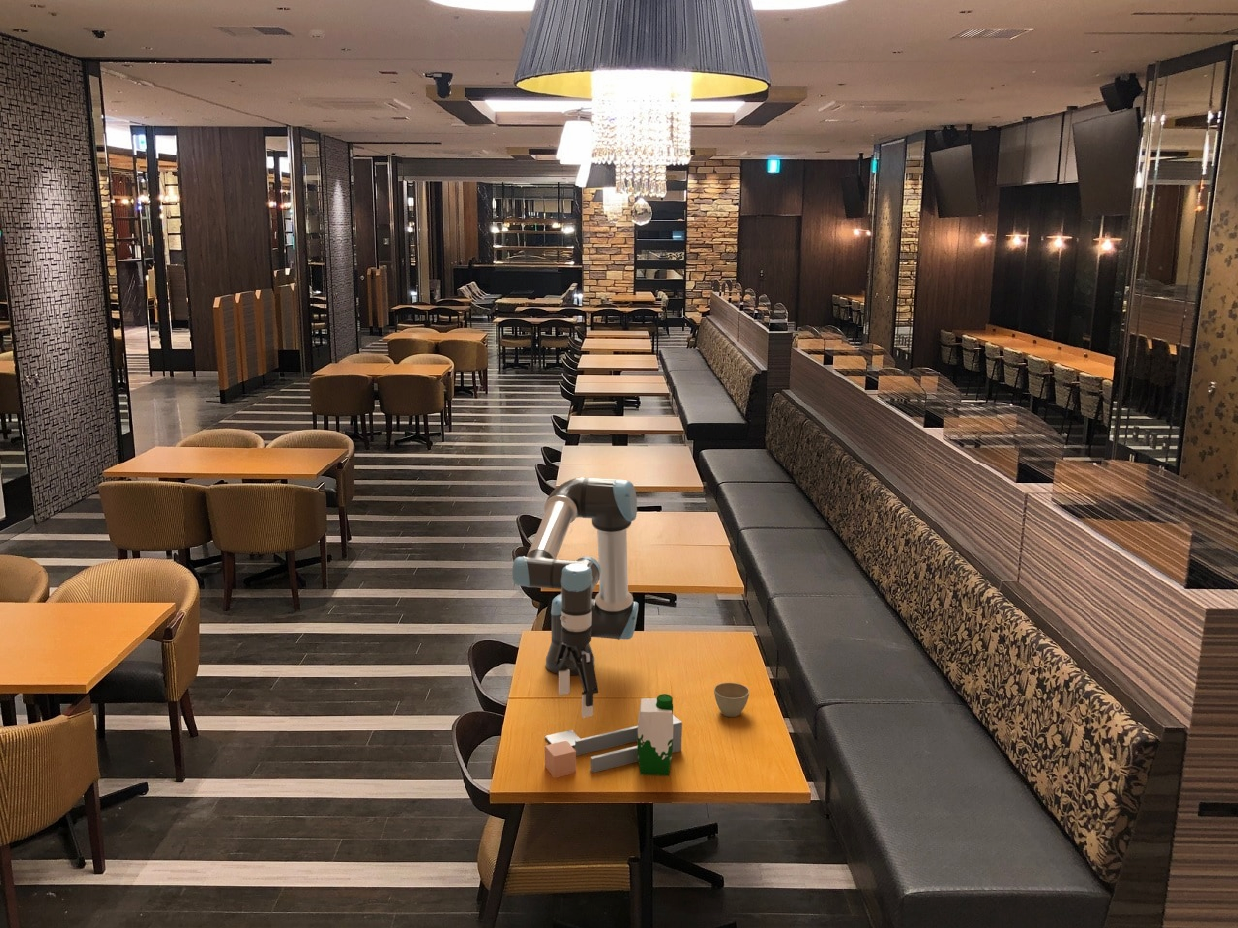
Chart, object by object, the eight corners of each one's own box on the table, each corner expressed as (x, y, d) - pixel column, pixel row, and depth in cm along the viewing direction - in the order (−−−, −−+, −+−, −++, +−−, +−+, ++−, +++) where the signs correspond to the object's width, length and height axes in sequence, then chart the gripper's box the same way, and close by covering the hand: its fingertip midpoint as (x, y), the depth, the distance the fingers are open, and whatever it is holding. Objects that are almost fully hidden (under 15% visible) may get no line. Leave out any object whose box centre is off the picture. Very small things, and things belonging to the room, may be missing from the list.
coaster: (544, 738, 281) (544, 735, 281) (572, 732, 285) (572, 729, 285) (556, 752, 274) (556, 749, 274) (584, 745, 278) (584, 742, 278)
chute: (575, 753, 274) (575, 724, 272) (661, 733, 285) (662, 705, 283) (592, 772, 265) (592, 743, 263) (681, 750, 276) (681, 722, 274)
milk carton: (672, 778, 264) (674, 706, 259) (636, 777, 264) (637, 704, 259) (672, 760, 272) (674, 690, 267) (637, 759, 272) (638, 689, 268)
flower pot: (752, 709, 300) (754, 686, 298) (741, 724, 291) (742, 700, 289) (719, 702, 304) (720, 679, 302) (707, 716, 295) (708, 693, 293)
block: (544, 766, 268) (544, 745, 266) (566, 761, 270) (566, 740, 269) (554, 777, 262) (554, 756, 261) (575, 772, 265) (576, 751, 264)
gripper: (541, 611, 268) (541, 687, 273) (584, 647, 246) (583, 729, 251) (568, 607, 271) (567, 682, 276) (612, 641, 250) (611, 722, 255)
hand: (575, 704), depth 264 cm, fingers open, 13 cm apart
